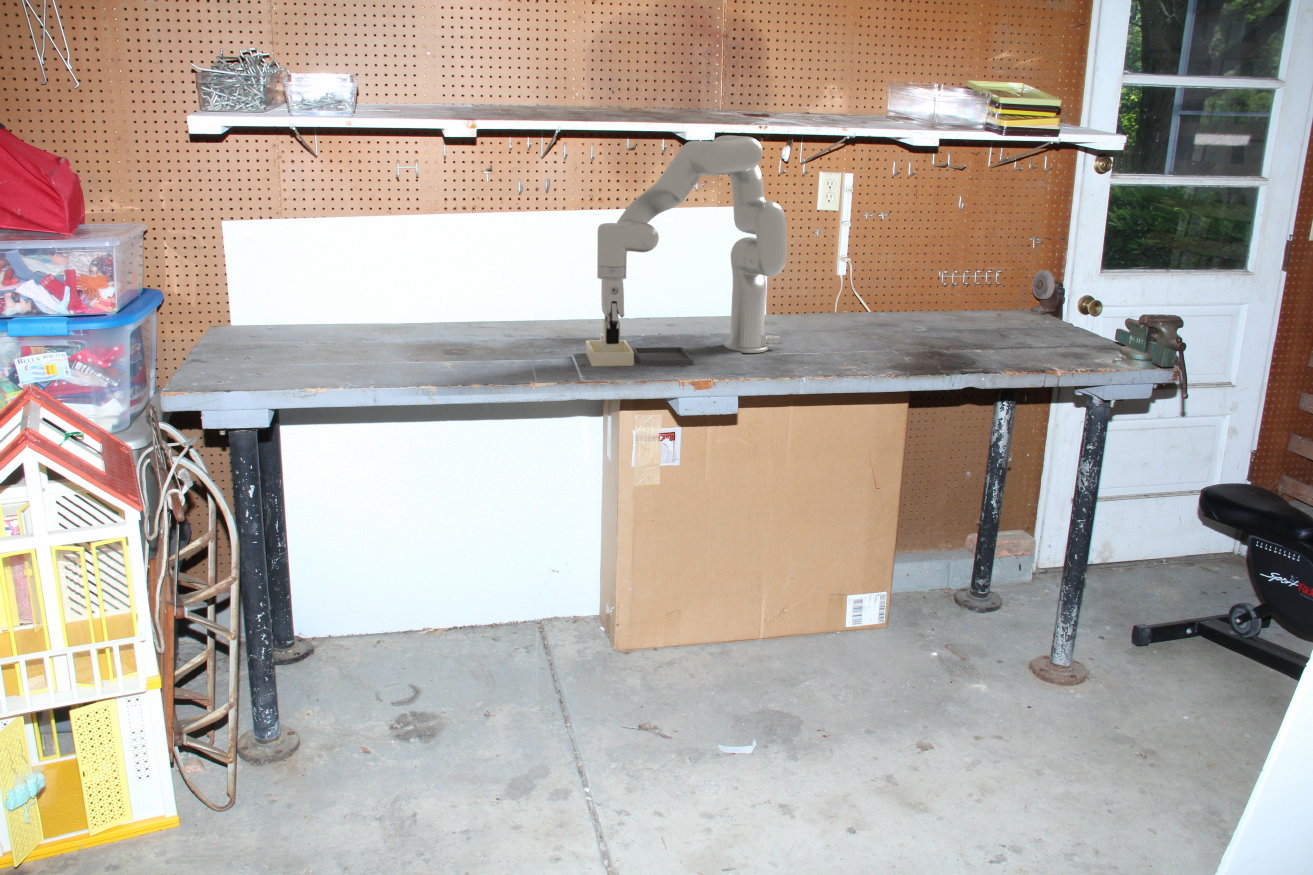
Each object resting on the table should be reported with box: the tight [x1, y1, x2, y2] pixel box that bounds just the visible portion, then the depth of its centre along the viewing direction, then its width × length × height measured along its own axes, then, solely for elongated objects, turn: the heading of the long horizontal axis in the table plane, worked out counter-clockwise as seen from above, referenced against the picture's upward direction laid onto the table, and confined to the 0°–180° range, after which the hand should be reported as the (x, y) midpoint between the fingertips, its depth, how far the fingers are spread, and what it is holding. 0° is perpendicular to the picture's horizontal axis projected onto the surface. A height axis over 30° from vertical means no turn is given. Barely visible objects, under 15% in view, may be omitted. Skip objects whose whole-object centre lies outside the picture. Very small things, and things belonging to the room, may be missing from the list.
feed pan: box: [631, 346, 694, 366], centre depth 266 cm, size 14×15×2 cm
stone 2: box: [599, 332, 616, 352], centre depth 266 cm, size 4×4×6 cm
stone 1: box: [602, 318, 621, 345], centre depth 258 cm, size 4×4×6 cm
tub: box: [585, 339, 635, 367], centre depth 263 cm, size 11×15×4 cm
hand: (611, 341), depth 259 cm, fingers closed on stone 1, 4 cm apart
